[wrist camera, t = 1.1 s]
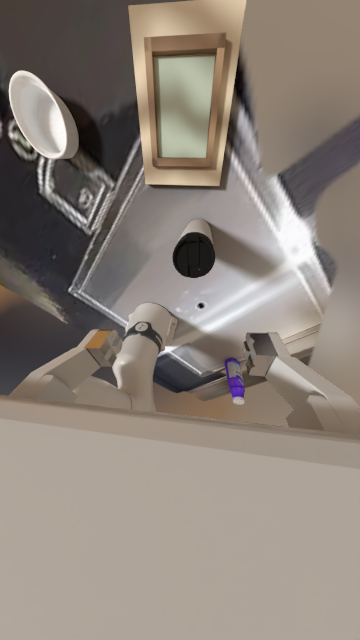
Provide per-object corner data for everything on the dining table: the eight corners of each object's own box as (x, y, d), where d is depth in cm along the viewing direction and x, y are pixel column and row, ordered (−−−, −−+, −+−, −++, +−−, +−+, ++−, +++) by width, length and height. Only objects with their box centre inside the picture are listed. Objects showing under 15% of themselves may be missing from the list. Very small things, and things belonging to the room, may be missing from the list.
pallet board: (218, 186, 30) (219, 185, 28) (147, 184, 31) (144, 183, 29) (244, 8, 19) (248, -13, 17) (132, 16, 20) (125, -3, 18)
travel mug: (211, 215, 33) (217, 230, 18) (210, 246, 37) (214, 280, 22) (183, 217, 34) (168, 235, 19) (185, 248, 38) (174, 282, 23)
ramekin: (88, 165, 30) (74, 161, 27) (47, 160, 31) (29, 156, 27) (71, 89, 25) (51, 72, 21) (21, 84, 25) (-6, 67, 22)
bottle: (241, 363, 67) (251, 404, 54) (231, 367, 70) (237, 407, 57) (233, 355, 64) (240, 397, 51) (222, 360, 67) (226, 400, 54)
